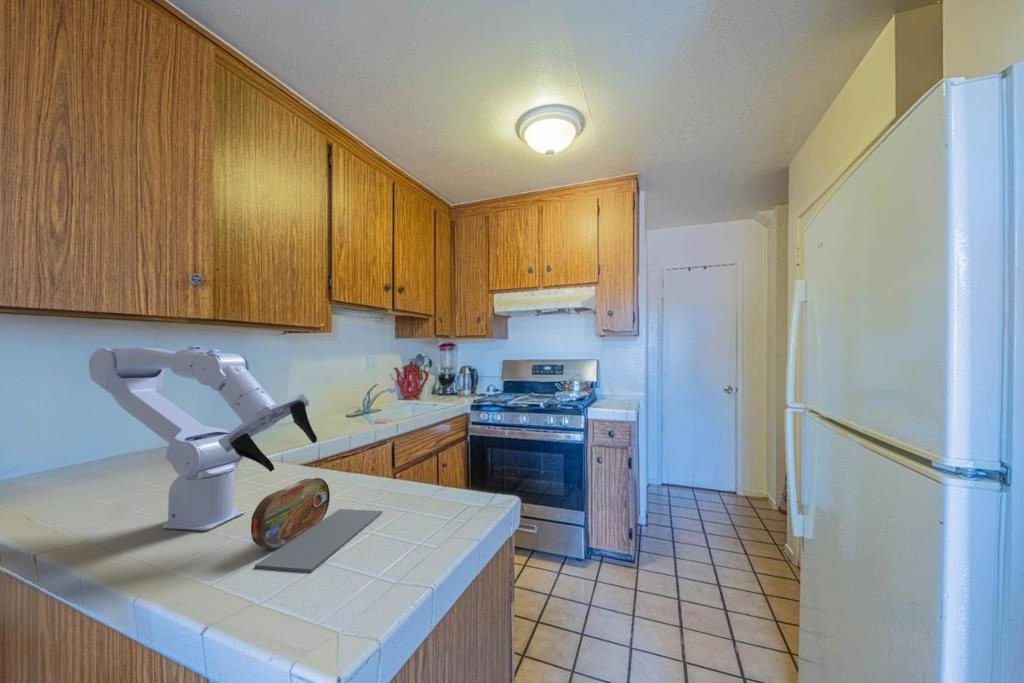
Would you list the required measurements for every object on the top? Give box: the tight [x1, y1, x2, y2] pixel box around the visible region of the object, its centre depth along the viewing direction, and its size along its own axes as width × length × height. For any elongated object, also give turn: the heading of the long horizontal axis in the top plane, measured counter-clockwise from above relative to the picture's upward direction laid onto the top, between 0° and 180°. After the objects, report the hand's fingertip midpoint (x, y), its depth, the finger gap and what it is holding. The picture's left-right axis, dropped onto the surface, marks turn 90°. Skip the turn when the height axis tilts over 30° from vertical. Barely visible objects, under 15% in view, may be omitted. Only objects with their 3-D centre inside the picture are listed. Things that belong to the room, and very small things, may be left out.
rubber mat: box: [254, 508, 383, 573], centre depth 62 cm, size 9×20×1 cm, turn 171°
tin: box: [250, 477, 331, 549], centre depth 63 cm, size 15×3×8 cm, turn 168°
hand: (294, 453), depth 65 cm, fingers open, 7 cm apart
